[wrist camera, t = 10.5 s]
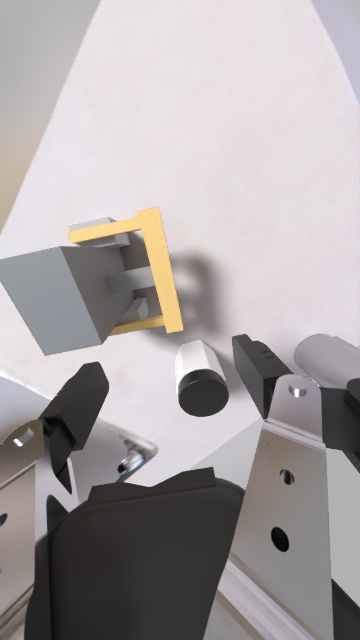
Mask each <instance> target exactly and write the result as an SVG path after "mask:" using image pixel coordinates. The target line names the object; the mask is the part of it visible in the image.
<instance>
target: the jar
mask: <svg viewBox="0 0 360 640" xmlns="http://www.w3.org/2000/svg"><path fill="white" fill-rule="evenodd" d="M175 368H176V393H177V394H178V398H179V404H180V406H181V408H182V409H183V410H184V411H185V412H186V413H188V414H190V415H192V416H197V417H206V416H211V415H214V414H216V413H218V412H219V411H221V410H222V409H223V408H224V407H225V405H226V404H227V402H228V398H229V393H228V390H227V386H226V378H225V376H224V374H223V371H222V369H221V366H220V364H219V361H218V359H217V357H216V354H215V352H214V351H213V350H212V349H211V348H210V347H209V346H208V345H207V344H206V343H204V342H203V341H202V340H201V339H200V340H196V341H192V342H188V343H184V344H181V345H180V348H179V351H178V354H177V357H176V361H175Z"/></svg>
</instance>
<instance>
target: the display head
mask: <svg viewBox="0 0 360 640" xmlns="http://www.w3.org/2000/svg"><path fill="white" fill-rule="evenodd" d="M112 222H117V221H115V220H113V219H111V218H109V217H107V218H103V219H98V220H94V221H89V222H85V223H81V224H76V225H72V226H69V228H70V230H71V231H75V230H80V229H84V228H89V227H94V226H98V225H103V224H108V223H112ZM76 245H77V247H67V246H59V247H55V248H50V249H46V250H41V251H37V252H32V253H28V254H23V255H19V256H14V257H10V258H5V259H1V260H0V281H1V283H2V285H3V286H4V288H5V290H6V291H7V293H8V295H9V296H10V298H11V300H12V301H13V303H14V305H15V306H16V308H17V310H18V311H19V313H20V315H21V316H22V318H23V320H24V321H25V323H26V325H27V326H28V328H29V330H30V331H31V333H32V335H33V337H34V338H35V340H36V342H37V343H38V345H39V347H40V348H41V350H42V352H43V353H44V355H45V356H47V355H52V354H57V353H62V352H67V351H72V350H77V349H82V348H87V347H92V346H97V345H102V344H103V343H104V341H105V340H106V338H107V337H108V336H109V334H110V333H111V332H112V330H113V329H114V327H115V326H116V325H117V324H119V323H124V322H129V321H134V320H140V319H145V318H147V317H148V314H149V308H148V304H147V301H146V297H141V298H136V299H135V297H134V293H133V290H137V289H141V288H146V287H151V286H155V282H154V278H153V274H152V270H151V266H147V267H142V268H137V269H133V270H128V271H126V268H125V264H124V261H123V258H122V255H121V252H120V248H119V247H124V246H128V245H130V241H129V237H128V234H127V233H124V234H119V235H114V236H110V237H105V238H100V239H95V240H91V241H86V242H81V243H76Z"/></svg>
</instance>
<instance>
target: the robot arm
mask: <svg viewBox="0 0 360 640" xmlns="http://www.w3.org/2000/svg"><path fill="white" fill-rule="evenodd" d="M232 345H233V357H234V363H235V366H236V369H237V371H238V373H239V375H240V376H241V378H242V380H243V382H244V384H245V386H246V388H247V390H248V391H249V393H250V395H251V397H252V399H253V401H254V403H255V405H256V407H257V408H258V410H259V412H260V414H261V416H262V418H263V420H264V419H267V421H266V420H265V421H264V423H263V426H262V430H261V434H260V438H259V442H258V445H257V449H256V453H255V457H254V461H253V465H252V468H251V472H250V477H249V480H248V484H247V488H246V490H244V489H243V488H241V487H240V486H238V485H236V484H234V483H232V482H230V481H227V480H224V479H220V478H215V475H214V470H213V467H209V468H203V469H196V470H191V471H184V472H181V473H179V474H177V475H175V476H173V477H171V478H169V479H167V480H165V481H163V482H161V483H159V484H157V485H155V486H152V487H146V486H141V485H136V484H131V483H125V482H116V483H111V484H104V485H98V486H92V488H91V491H90V494H89V497H88V500H87V501H85V502H83V503H82V504H80V503H79V500H78V496H77V491H76V485H75V481H74V475H73V469H72V464H71V460H70V459H69V455H70V453H71V451H77V450H82V449H83V448H84V445H85V443H86V441H87V439H88V436H89V434H90V432H91V430H92V427H93V425H94V423H95V421H96V418H97V416H98V414H99V412H100V409H101V407H102V405H103V403H104V400H105V398H106V396H107V394H108V391H109V382H108V380H107V378H106V375H105V373H104V371H103V369H102V367H101V364H100V363H99V362H92V363H87V364H84V365H82V367H81V368H80V369H79V371H78V372H77V373H76V374H75V375H74V376H73V377H72V378H70V379H69V380H68V381H67V382H66V383H65V385H64V386H63V387H62V390H60V391H59V392H58V394H57V396H55V397H54V399H53V400H52V401H51V402H50V404H49V405H48V406H47V408H46V409H45V410H44V411H43V413H42V414H41V415H40V417H39V418H38V419H36V420H32V421H29V422H27V423H25V424H23V425H21V426H20V427H18V428H17V429H16V430H14V431H13V432H12V433H11V434H10V435H9V436H8V437H7V438H6V439H5V440H4V441H3V443H2V445H0V640H360V607H359V606H358V605H357V604H356V603H355V602H354V601H353V600H352V599H351V598H350V597H349V596H348V595H347V594H346V593H345V592H344V591H343V590H342V588H341V587H340V586H339V585H338V584H337V583H336V582H335V581H334V580H333V579H332V578H331V561H330V537H329V514H328V513H329V512H328V488H327V463H326V448H331V449H337V450H342V451H343V452H344V454H345V455H346V456H347V458H348V459H349V460H350V461H351V463H352V464H353V465H354V467H355V468H356V469H357V470H358V472H359V473H360V349H358V348H357V347H355V346H353V345H351V344H349V343H347V342H345V341H344V340H342V339H340V338H338V337H330V336H328V335H325V334H318V335H314V336H311V337H309V338H307V339H306V340H304V341H303V342H302V343H301V344H300V345H299V346H298V348H297V350H296V352H295V362H296V363H297V365H298V366H299V367H301V368H302V369H303V370H304V371H305V372H306V373H307V374H308V375H309V376H310V377H311V378H312V379H313V380H315V381H316V382H317V383H318V384H319V385H320V386H321V387H318V385H316V383H314V382H313V381H312V380H310V379H308V378H306V377H303V376H300V375H294V374H293V373H292V372H291V370H290V369H289V368H288V367H287V366H286V365H285V364H284V363H283V362H282V361H281V360H280V359H279V358H278V357H277V356H276V355H275V354H274V353H273V352H271V350H270V349H269V348H268V347H267V346H266V345H265V344H263V343H261V342H259V341H252V340H251V339H250V338H249V337H248V336H247V334H242V335H237V336H233V337H232Z"/></svg>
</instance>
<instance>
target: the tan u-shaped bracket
mask: <svg viewBox="0 0 360 640" xmlns="http://www.w3.org/2000/svg"><path fill="white" fill-rule="evenodd" d="M137 213H138V217H136V218H131V219H126V220H122V221H117V222H112V223H108V224H103V225H98V226H94V227H89V228H84V229H80V230H75V231H70V232H67V235H68V237H69V240H70V242H71V243H75V244H76V243H81V242H86V241H91V240H95V239H100V238H105V237H110V236H114V235H119V234H124V233H128V232H133V231H138V230H142V233H143V237H144V241H145V245H146V249H147V253H148V257H149V262H150V266H151V270H152V274H153V278H154V282H155V286H156V290H157V294H158V298H159V302H160V306H161V310H162V314H163V315H160V316H155V317H150V318H145V319H140V320H134V321H129V322H124V323H119V324H117V325H116V326H115V327H114V329H113V330H112V332H111V333H110V334H109V336H112V335H117V334H122V333H127V332H133V331H138V330H143V329H148V328H153V327H158V326H164V325H165V327H166V331H167V333H172V332H177V331H182V330H184V329H183V323H182V317H181V312H180V307H179V302H178V297H177V292H176V288H175V284H174V279H173V274H172V269H171V264H170V259H169V252H168V247H167V242H166V237H165V232H164V227H163V222H162V218H161V213H160V210H159V207H156V208H151V209H146V210H142V211H137Z"/></svg>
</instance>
